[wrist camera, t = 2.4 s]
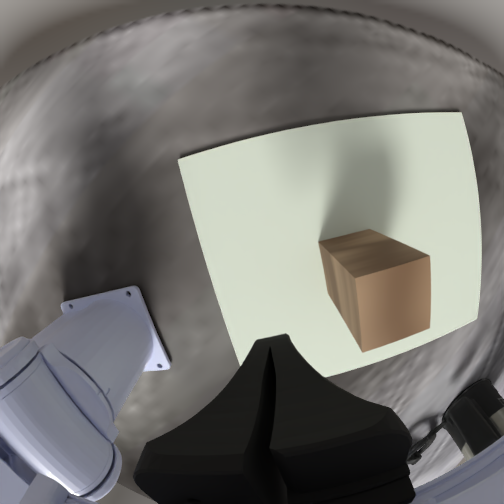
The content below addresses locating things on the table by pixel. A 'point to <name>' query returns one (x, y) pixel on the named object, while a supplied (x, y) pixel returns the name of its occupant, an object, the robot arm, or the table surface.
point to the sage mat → (335, 225)
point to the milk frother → (469, 422)
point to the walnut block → (377, 286)
